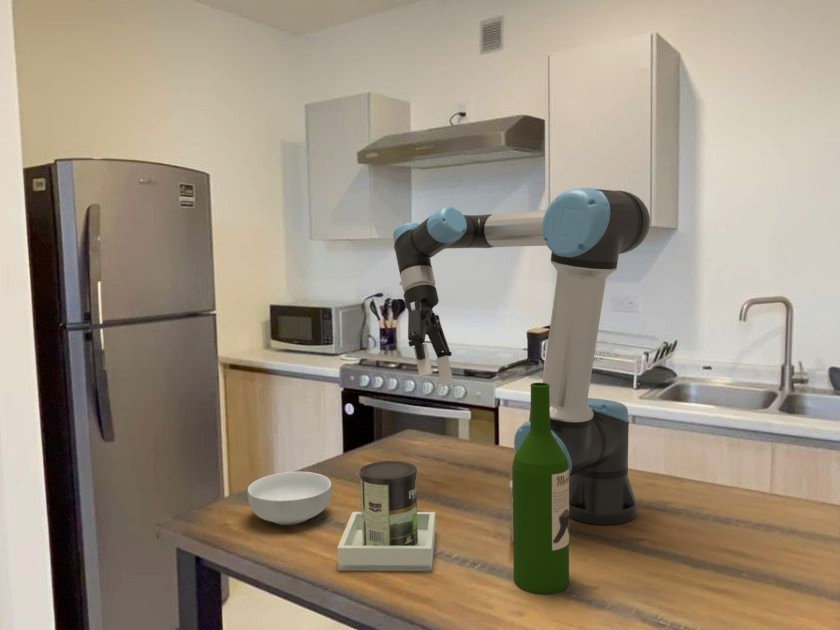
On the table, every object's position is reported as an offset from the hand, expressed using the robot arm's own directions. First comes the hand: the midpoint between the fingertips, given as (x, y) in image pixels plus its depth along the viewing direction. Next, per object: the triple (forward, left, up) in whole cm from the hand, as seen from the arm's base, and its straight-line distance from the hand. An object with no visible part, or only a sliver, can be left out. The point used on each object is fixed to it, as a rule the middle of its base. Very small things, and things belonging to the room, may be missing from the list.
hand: (437, 380), depth 146 cm
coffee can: (+8, +26, -25) cm, 37 cm away
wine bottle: (-18, +37, -26) cm, 49 cm away
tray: (+8, +26, -26) cm, 38 cm away
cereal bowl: (+30, +11, -26) cm, 42 cm away
